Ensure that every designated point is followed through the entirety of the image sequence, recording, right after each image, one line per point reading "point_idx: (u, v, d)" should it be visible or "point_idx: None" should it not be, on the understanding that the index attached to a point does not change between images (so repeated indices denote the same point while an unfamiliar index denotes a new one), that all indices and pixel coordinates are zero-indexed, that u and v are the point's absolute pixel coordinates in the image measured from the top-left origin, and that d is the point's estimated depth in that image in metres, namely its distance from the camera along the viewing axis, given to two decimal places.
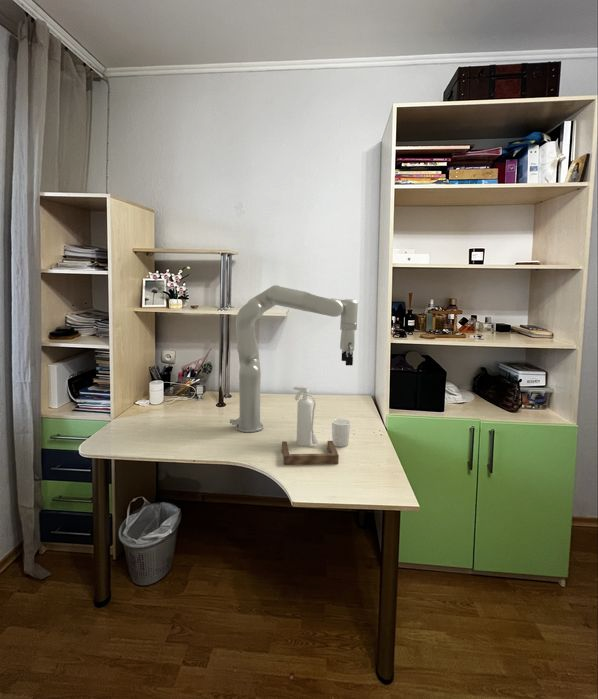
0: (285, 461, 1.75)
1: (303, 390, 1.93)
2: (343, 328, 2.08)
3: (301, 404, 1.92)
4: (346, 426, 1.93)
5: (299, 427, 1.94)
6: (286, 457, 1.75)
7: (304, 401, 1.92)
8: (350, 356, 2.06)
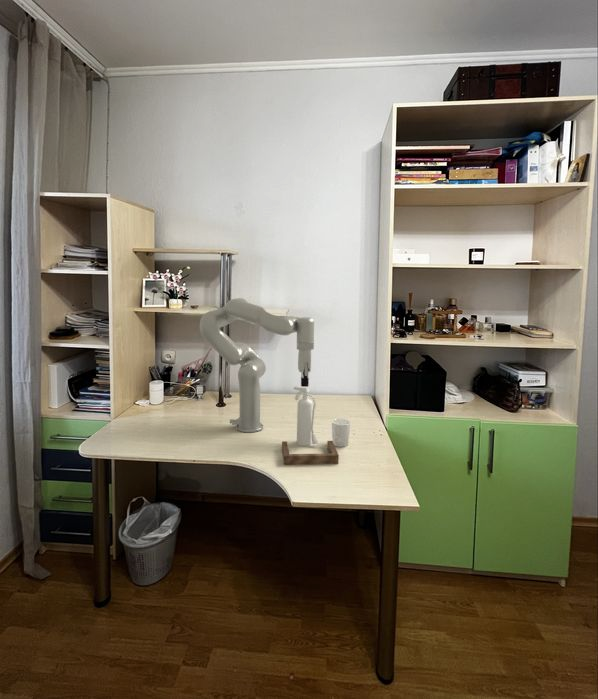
0: (285, 461, 1.75)
1: (303, 390, 1.93)
2: (299, 348, 1.99)
3: (301, 404, 1.92)
4: (346, 426, 1.93)
5: (299, 427, 1.94)
6: (286, 457, 1.75)
7: (304, 401, 1.92)
8: None
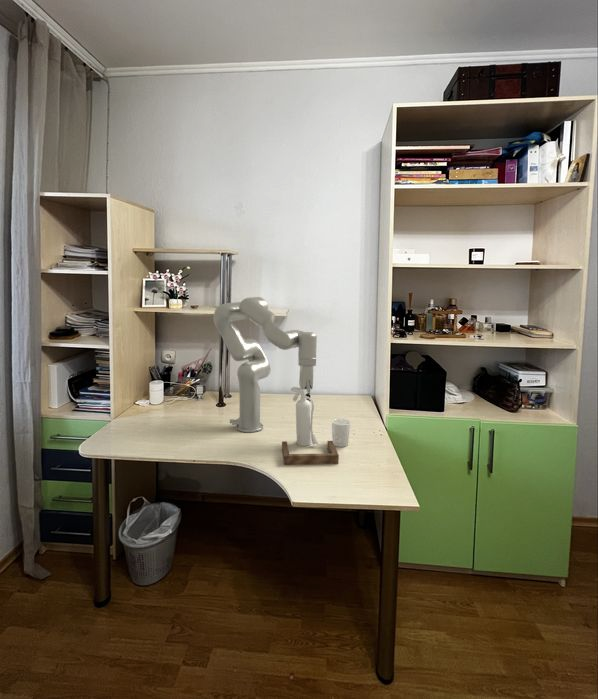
0: (285, 461, 1.75)
1: (301, 392, 1.89)
2: (301, 364, 1.90)
3: (299, 407, 1.89)
4: (346, 426, 1.93)
5: (298, 428, 1.93)
6: (286, 457, 1.75)
7: (302, 403, 1.89)
8: None
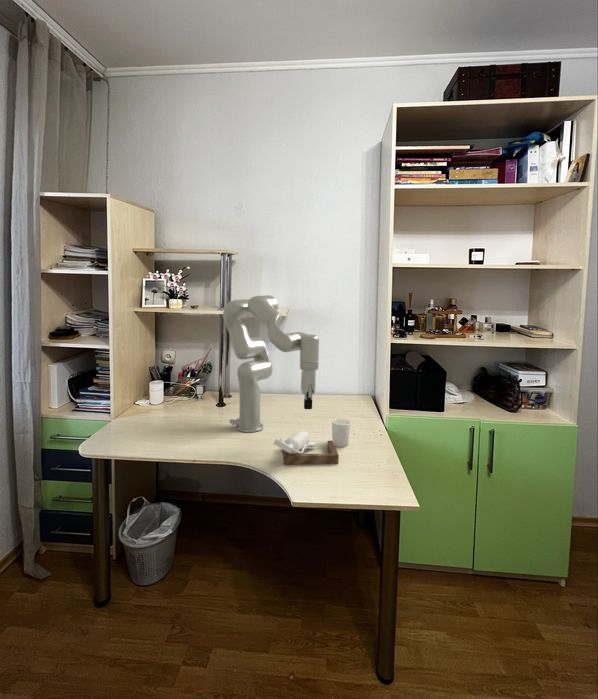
0: (285, 461, 1.75)
1: None
2: (302, 367, 1.84)
3: None
4: (346, 426, 1.93)
5: None
6: (286, 457, 1.75)
7: (290, 451, 1.76)
8: None
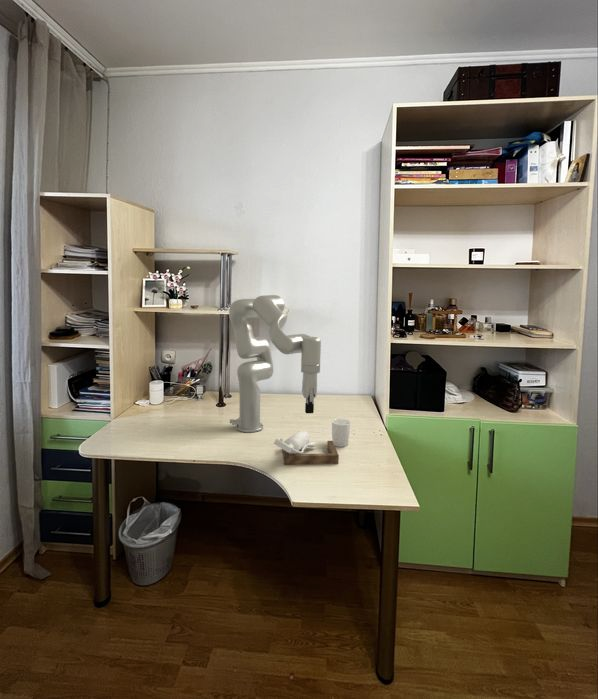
0: (285, 461, 1.75)
1: None
2: (304, 371, 1.79)
3: None
4: (346, 426, 1.93)
5: None
6: (286, 457, 1.75)
7: (290, 451, 1.76)
8: None
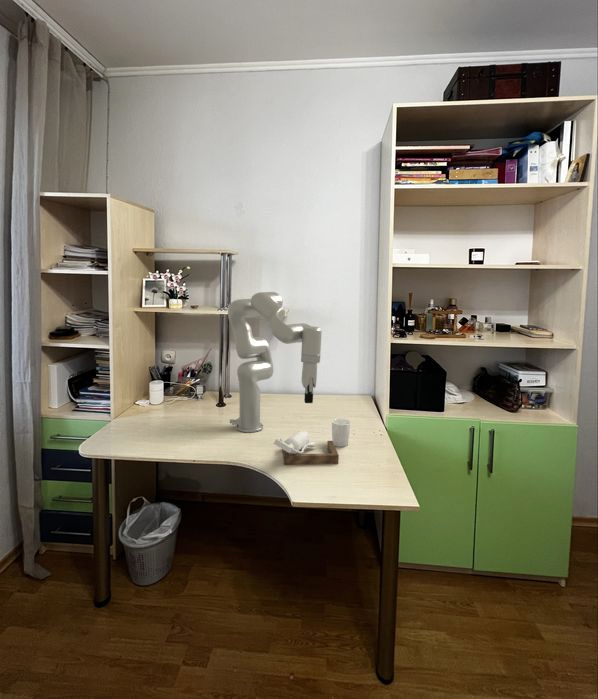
0: (285, 461, 1.75)
1: None
2: (304, 360, 1.78)
3: None
4: (346, 426, 1.93)
5: None
6: (286, 457, 1.75)
7: (290, 451, 1.76)
8: None
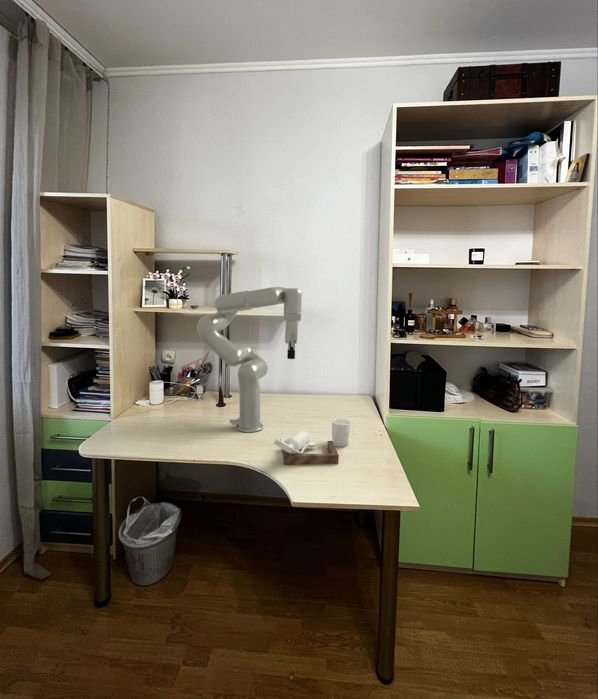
0: (285, 461, 1.75)
1: None
2: (286, 319, 1.96)
3: None
4: (346, 426, 1.93)
5: None
6: (286, 457, 1.75)
7: (290, 451, 1.76)
8: (291, 350, 2.00)
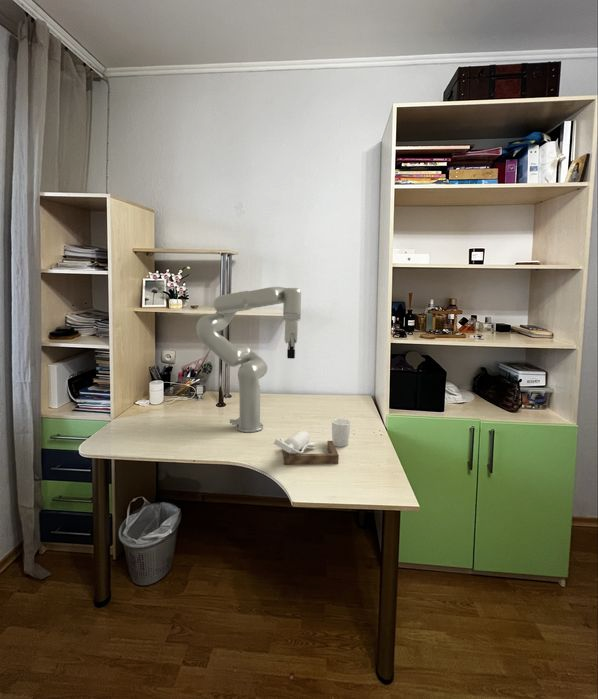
0: (285, 461, 1.75)
1: None
2: (285, 318, 1.96)
3: None
4: (346, 426, 1.93)
5: None
6: (286, 457, 1.75)
7: (290, 451, 1.76)
8: (291, 350, 2.00)
